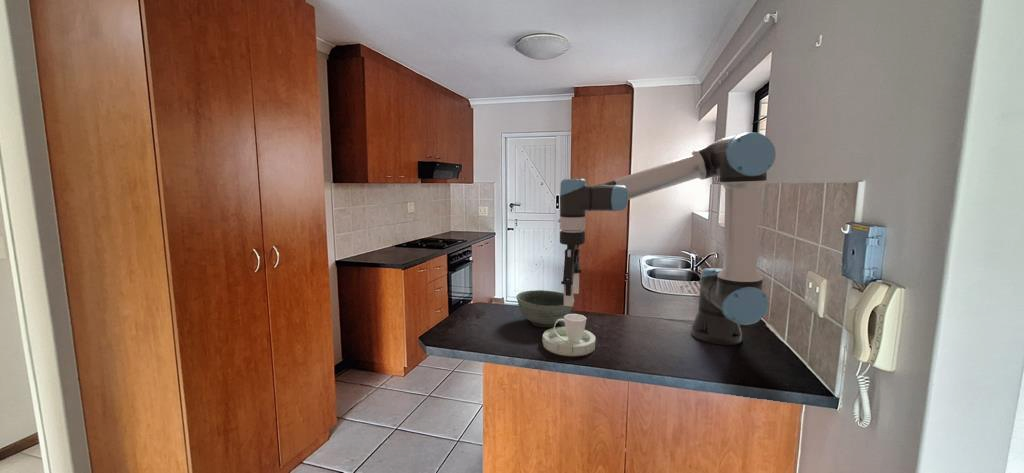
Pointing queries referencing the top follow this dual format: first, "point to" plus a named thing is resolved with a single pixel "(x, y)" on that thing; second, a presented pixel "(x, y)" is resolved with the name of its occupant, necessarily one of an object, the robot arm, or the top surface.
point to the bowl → (543, 307)
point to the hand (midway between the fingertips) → (571, 299)
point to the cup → (573, 328)
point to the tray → (564, 348)
